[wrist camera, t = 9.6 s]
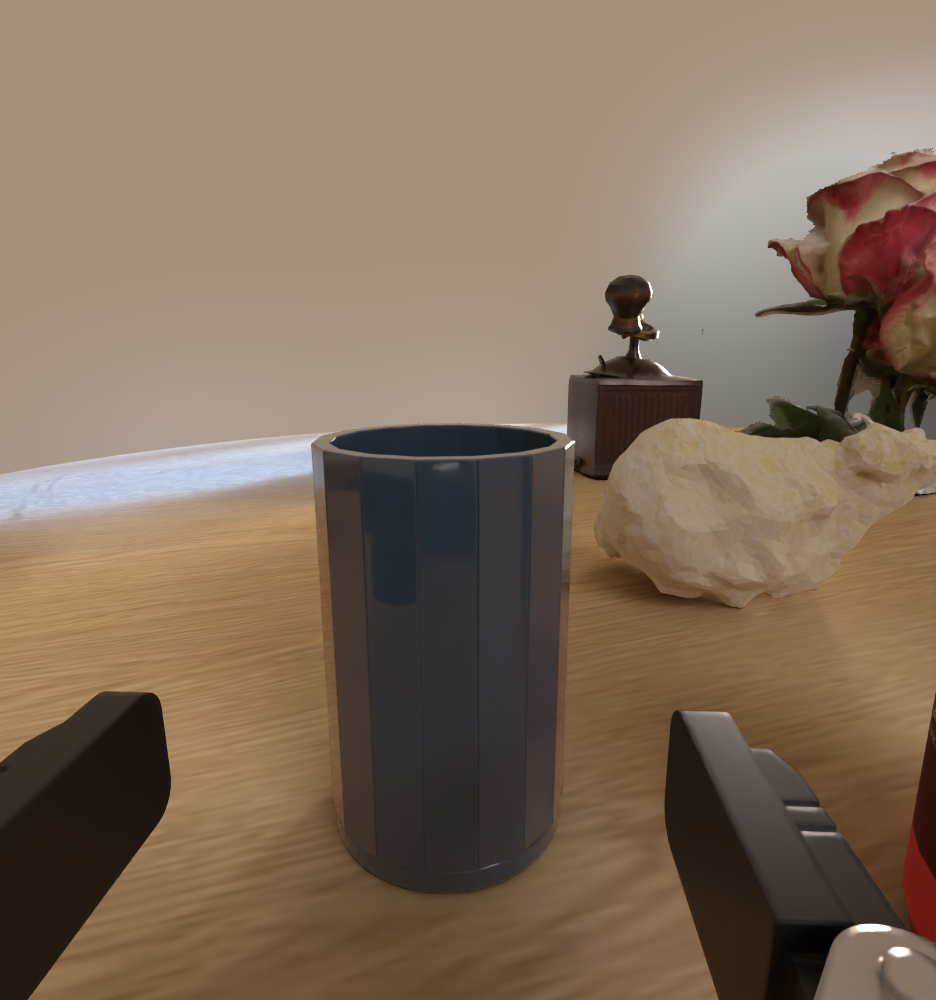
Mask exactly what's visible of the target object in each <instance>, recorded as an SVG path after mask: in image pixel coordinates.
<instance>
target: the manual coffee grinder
mask: <svg viewBox="0 0 936 1000" xmlns="http://www.w3.org/2000/svg"><path fill="white" fill-rule="evenodd" d="M651 295H652V289H651V285H650V283H649V282H648V281H646V280H645V279H643V278H642V277H640V276H635V275H626V276H619V277H618V278H616V279H615V280H613V281H612V282H610V284H609V286H608V288H607V290H606V292H605V298H606V301H607V303H608V304H609V306H610V307H611V310H612V313H613V315H614V318H613V321H612V323H611V325H610V326H609V327H608V330H609V331H611V332H614V333H617V334H619V335H621V337H622V338H623V339H625V338H626V337H628V336H630V345H629V351H628V353H627V354H626V356H618V357H615V358H613V359H611V360H609V361H606V362H604V360H603V358H602V356H601V355H599V356H598V358H599V361H600V365H599V366H598V367H596V368H595V369H594V370H592V371H584V373H589V375H571V376H570V379H569V393H568V424H567V436H568V437H570V438H571V439H573V440H574V441H575V450H574V469H576V470H579V471H580V472H582V473H584V474H586V475H590V476H593V477H595V478H599V479H608V478H609V475H610V472H611V470H612V467H613V464H614V463H615V462H616V460H617V459H618V458H619V456H620V455H621V454H622V453H624V452H625V451H626V450H627V449H628V448H629V446H630V445H631V444H632V443H633V442H634V441H635V440H636V438H637V437H638V436H639V434H640V433H642V432H643V431H645V430H647V429H649V428H651V427H653V426H655V425H657V424H659V423H661V422H664V421H666V420H669V419H679V418H684V419H686V418H691V419H700V408H701V399H702V388H703V387H702V386H703V381H702V380H697V379H691V378H685V377H679V376H674V375H670V374H669V373H668V372H667V371H666V370H665V369H664V368H663V367H662V366H661V365H659V364H657V363H655V362H653V361H651V360H649V359H642V358H641V356H640V353H639V351H638V350H639V340H642V341H650V340H653V339H656V338H658V337H659V330H658V329H656V328H654V327H652V326H651V325H648V324H647V323H645V322H644V321H643V320H642V319H643V315H642V311H643V309H644V307H645V306H646V305H647V304H648V303H649V302H650V300H651Z"/></svg>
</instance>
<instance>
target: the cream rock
mask: <svg viewBox="0 0 936 1000" xmlns="http://www.w3.org/2000/svg"><path fill="white" fill-rule="evenodd" d="M852 417H853V419H854V420H856V421H858V420H859V419H863V420H864V421H865V423H866V424H867V428H866V429H865V430H862V431H860V432H859V433H857V434H855V435H851V436H847V437H845V438H844V439H843V440H842V442H841V443H839V442H836V441H833V440H830V439H827V440H825V441H822V442H819V441H817V440H816V439H813V438H809V437H802V438H769V437H761V436H751V435H747V434H744V433H741V432H736V431H733V430H731V429H729V428H727V427H724V426H721V425H719V424H716V423H713V422H710V421H708V420H700V419H691V418H686V419H684V418H679V419H669V420H666V421H664V422H661V423H659V424H657V425H655V426H653V427H651V428H649V429H647V430H645V431H643V432H642V433H640V434H639V436H638V437H637V438H636V440H635V441H634V442H633V443H632V444H631V445H630V446H629V448H628V449H627V450H626V451H625V452H624V453H622V454H621V455H620V456H619V458H618V459H617V460H616V462H615V463H614V464H613V467H612V470H611V472H610V475H609V478H608V481H607V488H606V492H605V497H604V503H603V505H602V507H601V510H600V511H599V512H598V513H597V520H596V522H595V526H594V532H595V536H596V540H597V543H598V545H599V546H600V547H601V548H602V549H603V550H604V551H605V552H606V553H607V555H608V556H609V557H618V558H623V559H624V561H625V562H626V563H628V564H630V565H631V566H633V567H636V568H638V569H640V570H641V571H643V572H644V573H645V574H646V575H647V576H648V577H649V578H650V579H651V580H652V581H653V582H654V584H655V586H656V587H657V589H658V590H659V591H660V592H661V593H665V594H670V595H675V596H679V597H684V598H697V597H700V596H701V595H707V596H712V597H718V598H719V599H720V600H722V601H723V602H724V603H725V604H727V605H729V606H730V607H738V608H744V607H745V606H746V605H747V604H748V603H749V602H750V601H751V600H752V599H753V598H754V597H755V596H756V595H758V594H760V593H762V592H766V593H767V594H769V595H770V596H771V597H772V598H781V597H782V596H787V597H791V596H793V595H796V594H798V593H800V592H804V591H807V590H809V589H810V590H813V591H817V590H819V589H820V588H821V587H822V585H823V583H824V582H825V581H827V580H828V579H830V578H831V577H832V576H833V575H834V574H835V573H836V571H837V570H838V569H839V568H840V563H841V559H842V558H843V557H844V555H845V554H846V553H848V552H849V551H850V550H851V549H852V548H854V547H855V546H857V545H858V543H859V541H860V540H861V538H862V536H863V535H864V534H865V533H866V531H867V530H868V529H869V527H870V526H871V525H873V524H874V523H876V522H877V521H880V520H882V519H883V518H884V517H886V516H887V515H889V514H890V513H892V512H893V511H895V510H897V509H899V508H901V507H903V506H904V505H905V504H906V503H908V502H909V501H911V500H912V498H913V497H914V495H915V493H916V492H917V491H918V490H920V489H922V488H925V487H929V486H931V485H933V484H935V483H936V443H935V442H930V441H929V440H927V439H926V438H925V432H924V431H923V430H922V429H920V428H917V427H916V428H913V429H909V430H905V431H903V432H899V431H897V430H894V429H892V428H889V427H887V426H884V425H882V424H879V423H875V422H873V421H872V420H871V419H870V417H868V416H865V415H863V414H860V413H855V414H853V415H852Z"/></svg>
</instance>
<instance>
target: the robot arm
mask: <svg viewBox="0 0 936 1000" xmlns="http://www.w3.org/2000/svg"><path fill="white" fill-rule="evenodd" d="M170 789H171V774H170V767H169V759H168V752H167V744H166V737H165V729H164V722H163V714H162V707H161V703H160V700H159V699H158V697H157V696H156V695H155V694H153V693H147V692H114V691H105V692H101V693H99V694H98V695H96V696H95V697H94V698H93V699H91V700H90V701H89V702H88V703H87V704H85V705H84V706H83V707H82V708H81V709H79V710H78V711H77V712H76V713H75V714H73V715H72V716H71V717H70V718H69V719H68V720H66V721H65V722H64V723H62V724H60V725H58V726H56V727H54V728H52V729H50V730H48V731H46V732H44V733H43V734H41V735H39V736H37V737H35V738H33V739H31V740H29V741H27V742H25V743H24V744H23V745H22V746H20V747H19V748H18V749H17V750H15V751H14V752H13V753H12V754H10V755H9V756H8V757H7V758H6V759H4V760H3V761H2V762H1V763H0V1000H28V998H29V997H30V996H31V994H32V993H33V992H34V990H35V989H36V988H37V986H38V985H39V984H40V982H41V981H42V980H43V978H44V977H45V976H46V974H47V973H48V971H49V970H50V969H51V967H52V966H53V965H54V963H55V962H56V961H57V959H58V958H59V957H60V955H61V954H62V953H63V951H64V950H65V949H66V947H67V946H68V944H69V943H70V942H71V940H72V939H73V938H74V936H75V935H76V934H77V932H78V931H79V930H80V928H81V927H82V926H83V924H84V923H85V922H86V920H87V919H88V917H89V916H90V915H91V913H92V912H93V911H94V909H95V908H96V907H97V905H98V904H99V903H100V901H101V900H102V899H103V897H104V896H105V895H106V893H107V892H108V890H109V889H110V888H111V886H112V885H113V884H114V882H115V881H116V880H117V878H118V877H119V876H120V874H121V873H122V872H123V870H124V869H125V868H126V866H127V865H128V863H129V862H130V861H131V859H132V858H133V857H134V855H135V854H136V853H137V851H138V850H139V849H140V847H141V846H142V845H143V843H144V842H145V841H146V839H147V838H148V836H149V835H150V834H151V832H152V831H153V830H154V828H155V827H156V826H157V824H158V823H159V821H160V820H161V818H162V816H163V814H164V812H165V809H166V806H167V804H168V800H169V796H170ZM665 822H666V830H667V836H668V841H669V845H670V849H671V852H672V855H673V858H674V861H675V864H676V867H677V871H678V874H679V877H680V880H681V883H682V886H683V889H684V892H685V895H686V899H687V902H688V905H689V908H690V911H691V914H692V917H693V920H694V924H695V927H696V930H697V933H698V936H699V939H700V942H701V945H702V948H703V952H704V955H705V958H706V961H707V964H708V967H709V970H710V973H711V977H712V980H713V983H714V986H715V989H716V992H717V995H718V998H719V1000H936V944H935V943H933V942H931V941H930V940H928V939H926V938H923V937H921V936H919V935H916V934H914V933H912V932H909V931H907V929H906V928H905V926H904V925H903V923H902V922H901V920H900V919H899V918H898V916H897V915H896V913H895V912H894V910H893V909H892V907H891V906H890V904H889V903H888V901H887V900H886V899H885V897H884V896H883V894H882V893H881V891H880V890H879V888H878V887H877V885H876V884H875V882H874V881H873V879H872V878H871V877H870V875H869V874H868V872H867V871H866V869H865V868H864V866H863V865H862V863H861V862H860V860H859V859H858V857H857V856H856V855H855V853H854V852H853V850H852V849H851V847H850V846H849V844H848V843H847V841H846V840H845V838H844V837H843V835H842V834H841V833H837V830H836V825H835V824H834V822H833V821H832V819H831V818H830V816H829V815H828V814H827V812H826V811H825V809H824V808H821V807H820V803H819V800H818V799H817V797H816V796H815V794H814V793H813V792H812V790H811V789H810V787H809V786H808V784H807V783H806V781H805V780H804V778H803V777H802V775H801V774H800V773H799V772H798V771H797V770H795V769H794V768H793V767H791V766H790V765H789V764H788V763H786V762H785V761H784V760H782V759H781V758H780V757H779V756H777V755H776V754H775V753H773V752H772V751H771V750H770V749H759V748H750V747H749V745H748V744H747V742H746V740H745V739H744V737H743V735H742V734H741V732H740V730H739V729H738V727H737V725H736V724H735V722H734V720H733V719H732V717H731V716H730V714H728V713H727V712H713V711H681V710H676V711H675V712H674V713H673V715H672V719H671V726H670V738H669V751H668V763H667V776H666V788H665Z"/></svg>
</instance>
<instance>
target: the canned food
mask: <svg viewBox="0 0 936 1000" xmlns="http://www.w3.org/2000/svg"><path fill="white" fill-rule="evenodd" d="M902 886H903V891H904V896H905V901H906V905H907V910H908V915H909V920H910V924H911V929H912V933H914V934H916V935H919V936H921V937H923V938H926V939H928V940H930V941H931V942H933V943H935V944H936V694H935V699H934V705H933V710H932V716H931V721H930V727H929V732H928V738H927V743H926V749H925V754H924V760H923V765H922V771H921V776H920V782H919V787H918V793H917V798H916V804H915V809H914V815H913V820H912V826H911V831H910V837H909V842H908V847H907V853H906V858H905V865H904V873H903V881H902Z"/></svg>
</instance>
